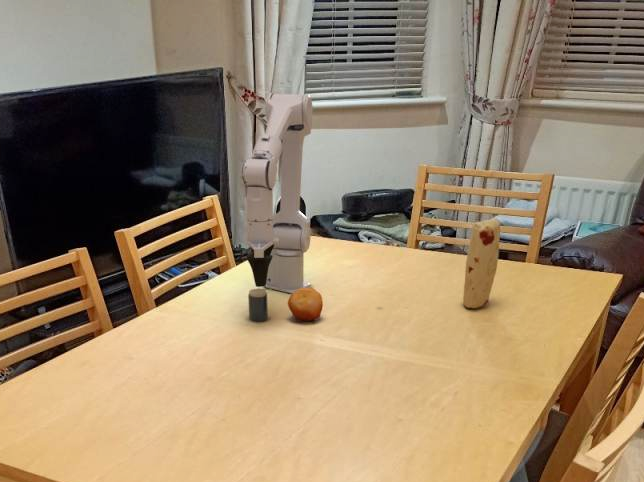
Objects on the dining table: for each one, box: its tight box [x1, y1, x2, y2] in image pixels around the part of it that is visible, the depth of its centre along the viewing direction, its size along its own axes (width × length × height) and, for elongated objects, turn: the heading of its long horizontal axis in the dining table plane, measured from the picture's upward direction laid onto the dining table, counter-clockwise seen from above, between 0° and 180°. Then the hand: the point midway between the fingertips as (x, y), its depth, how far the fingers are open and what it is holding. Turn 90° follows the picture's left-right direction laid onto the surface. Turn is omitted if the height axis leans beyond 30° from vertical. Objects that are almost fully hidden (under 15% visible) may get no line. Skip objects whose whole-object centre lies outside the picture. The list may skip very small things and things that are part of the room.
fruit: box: [287, 286, 324, 322], centre depth 176 cm, size 8×8×8 cm
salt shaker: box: [247, 288, 269, 323], centre depth 176 cm, size 4×4×6 cm
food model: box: [462, 218, 501, 309], centre depth 178 cm, size 10×7×20 cm
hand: (261, 280), depth 173 cm, fingers open, 7 cm apart
